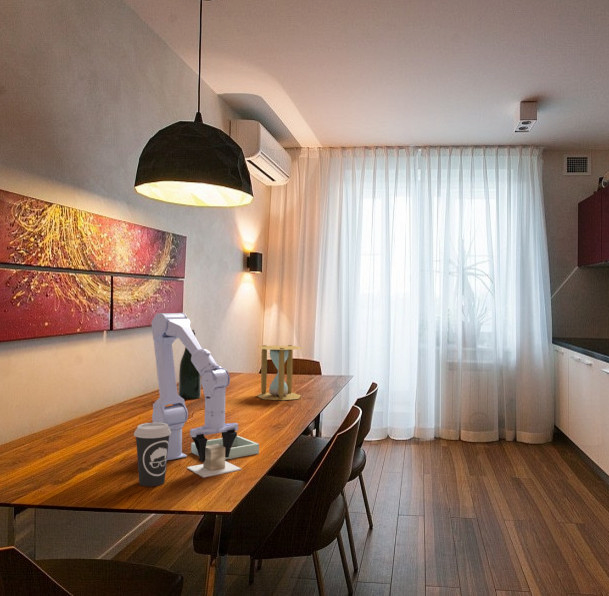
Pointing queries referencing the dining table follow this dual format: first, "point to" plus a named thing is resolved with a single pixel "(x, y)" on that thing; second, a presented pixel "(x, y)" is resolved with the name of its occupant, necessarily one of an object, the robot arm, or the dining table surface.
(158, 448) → the coffee cup
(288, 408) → the dining table surface
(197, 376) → the dark green wine bottle
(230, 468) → the white mat
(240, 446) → the pale grey-green open frame
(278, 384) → the hourglass
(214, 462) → the ash block
